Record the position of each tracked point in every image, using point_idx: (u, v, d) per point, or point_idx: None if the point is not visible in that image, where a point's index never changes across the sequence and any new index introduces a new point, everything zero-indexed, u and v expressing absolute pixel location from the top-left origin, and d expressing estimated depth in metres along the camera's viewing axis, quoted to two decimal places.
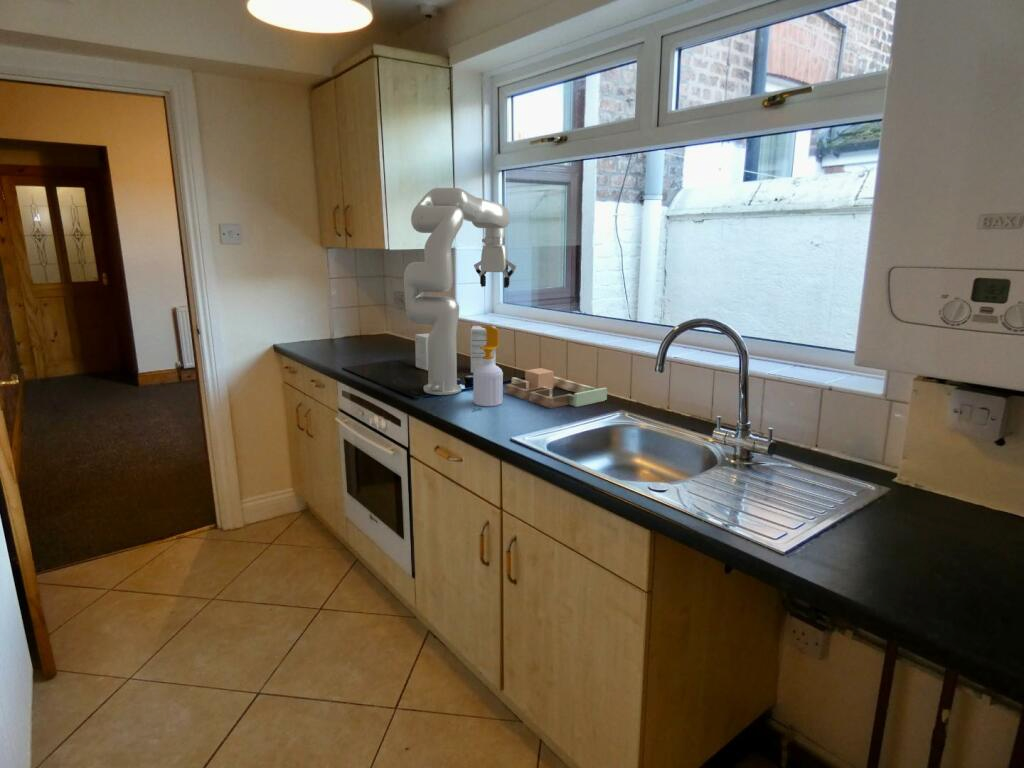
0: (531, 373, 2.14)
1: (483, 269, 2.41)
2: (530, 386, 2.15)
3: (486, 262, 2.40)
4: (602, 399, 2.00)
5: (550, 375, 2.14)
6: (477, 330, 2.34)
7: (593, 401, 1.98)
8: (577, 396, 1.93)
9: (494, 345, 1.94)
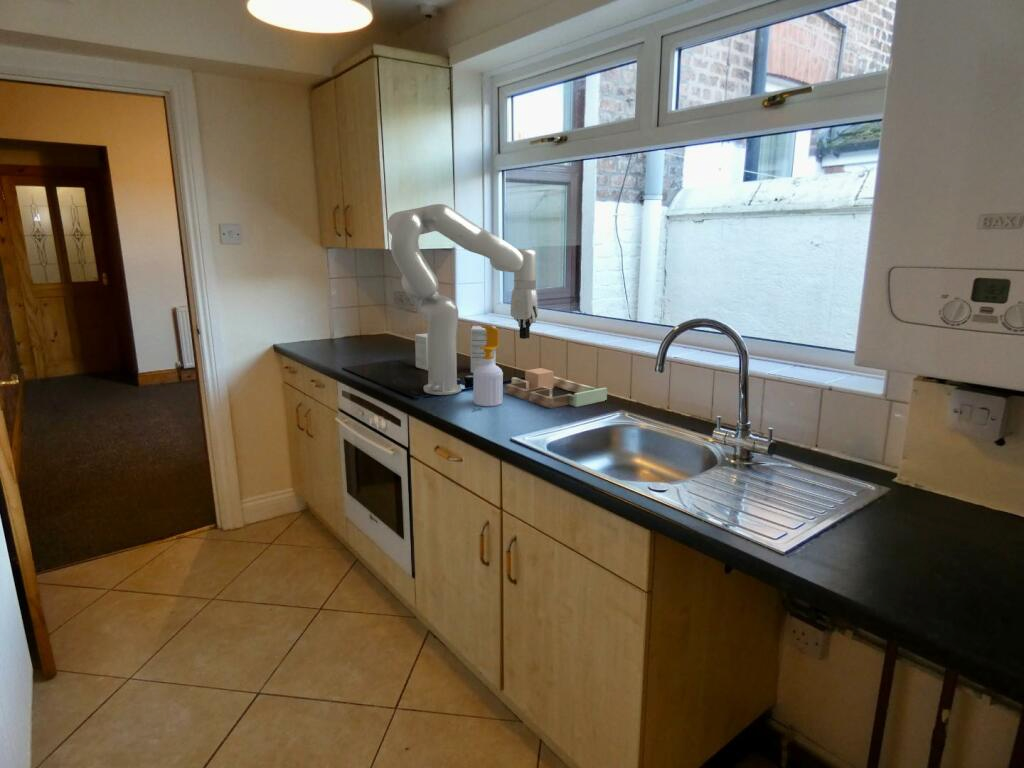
0: (531, 373, 2.14)
1: (512, 315, 2.19)
2: (530, 386, 2.15)
3: (514, 307, 2.18)
4: (602, 399, 2.00)
5: (550, 375, 2.14)
6: (477, 330, 2.34)
7: (593, 401, 1.98)
8: (577, 396, 1.93)
9: (494, 345, 1.94)
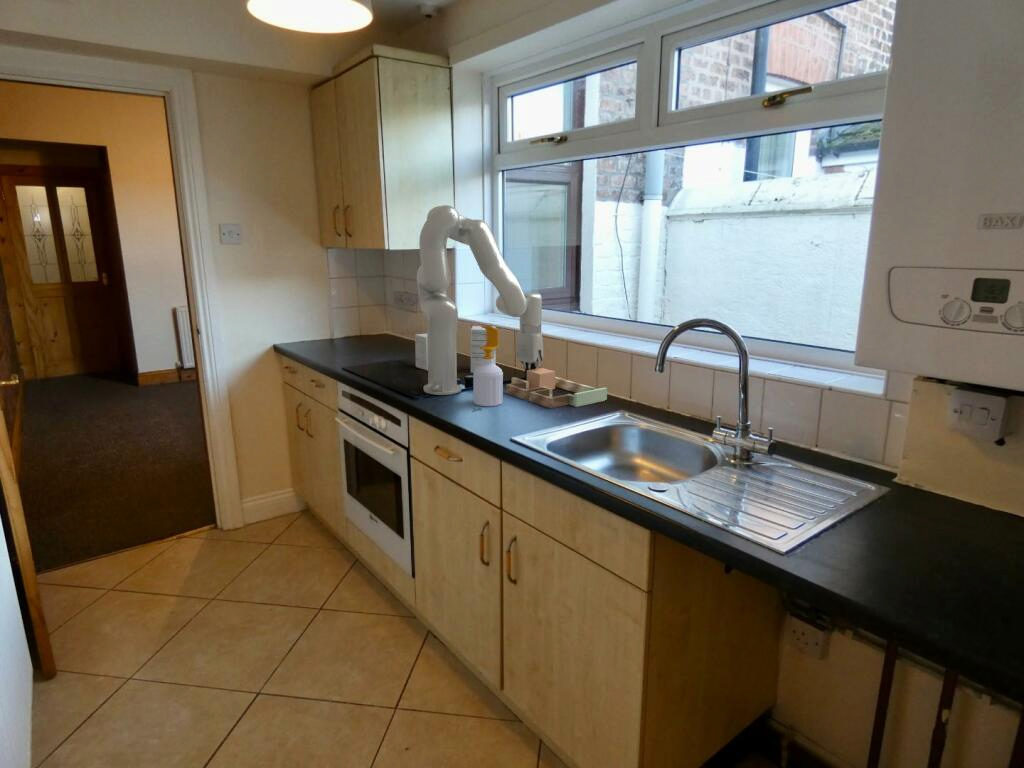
0: (532, 373, 2.13)
1: (517, 357, 2.20)
2: (531, 386, 2.14)
3: (519, 350, 2.18)
4: (602, 399, 2.00)
5: (552, 375, 2.14)
6: (477, 330, 2.34)
7: (593, 401, 1.98)
8: (577, 396, 1.93)
9: (494, 345, 1.94)
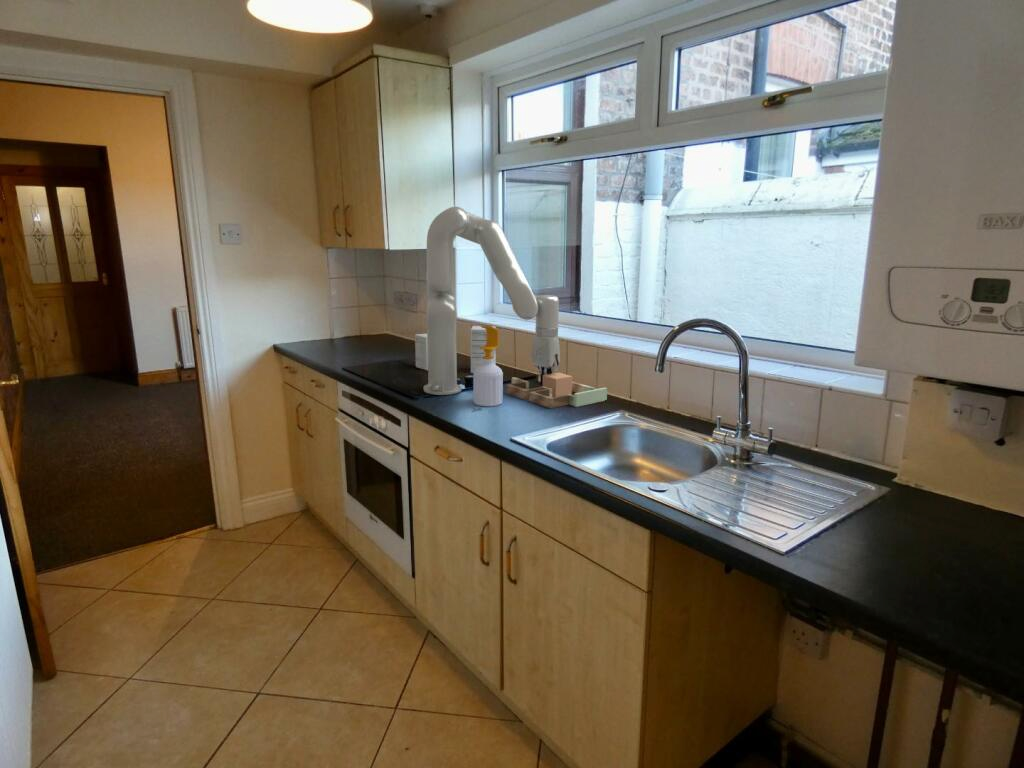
0: (549, 378, 2.06)
1: (532, 361, 2.13)
2: None
3: (535, 354, 2.12)
4: (602, 399, 2.00)
5: (569, 380, 2.07)
6: (477, 330, 2.34)
7: (593, 401, 1.98)
8: (577, 396, 1.93)
9: (494, 345, 1.94)
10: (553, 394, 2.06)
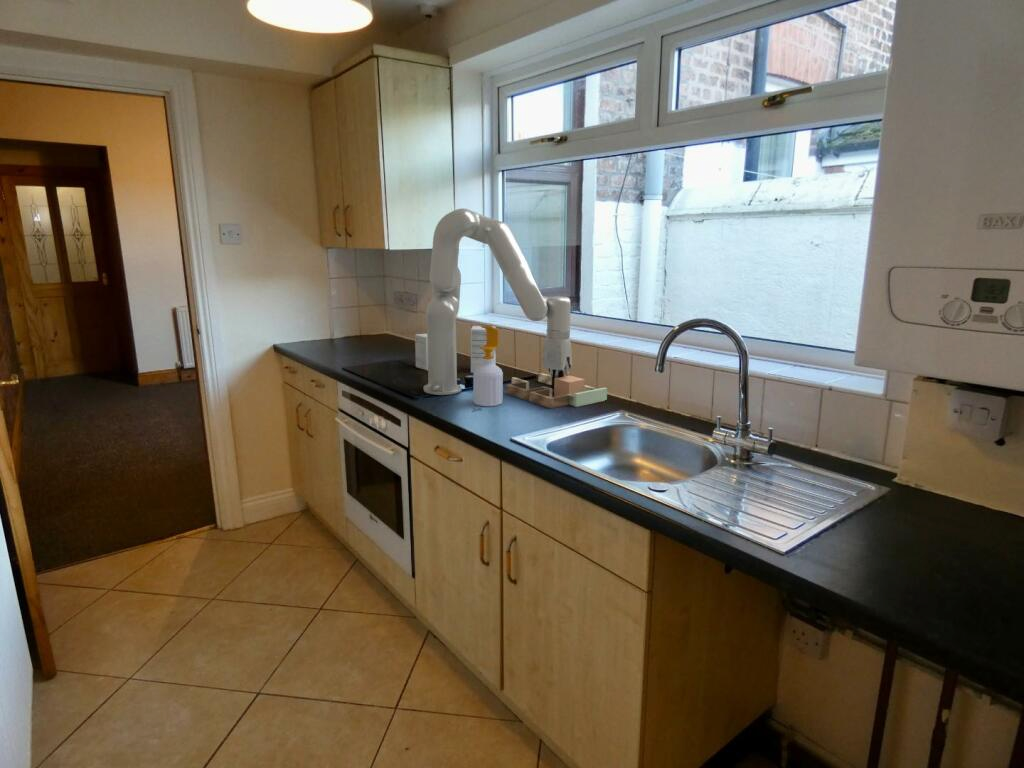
0: (561, 381, 2.02)
1: (543, 364, 2.09)
2: (560, 395, 2.03)
3: (546, 357, 2.07)
4: (602, 399, 2.00)
5: (581, 384, 2.03)
6: (477, 330, 2.34)
7: (593, 401, 1.98)
8: (577, 396, 1.93)
9: (494, 345, 1.94)
10: None
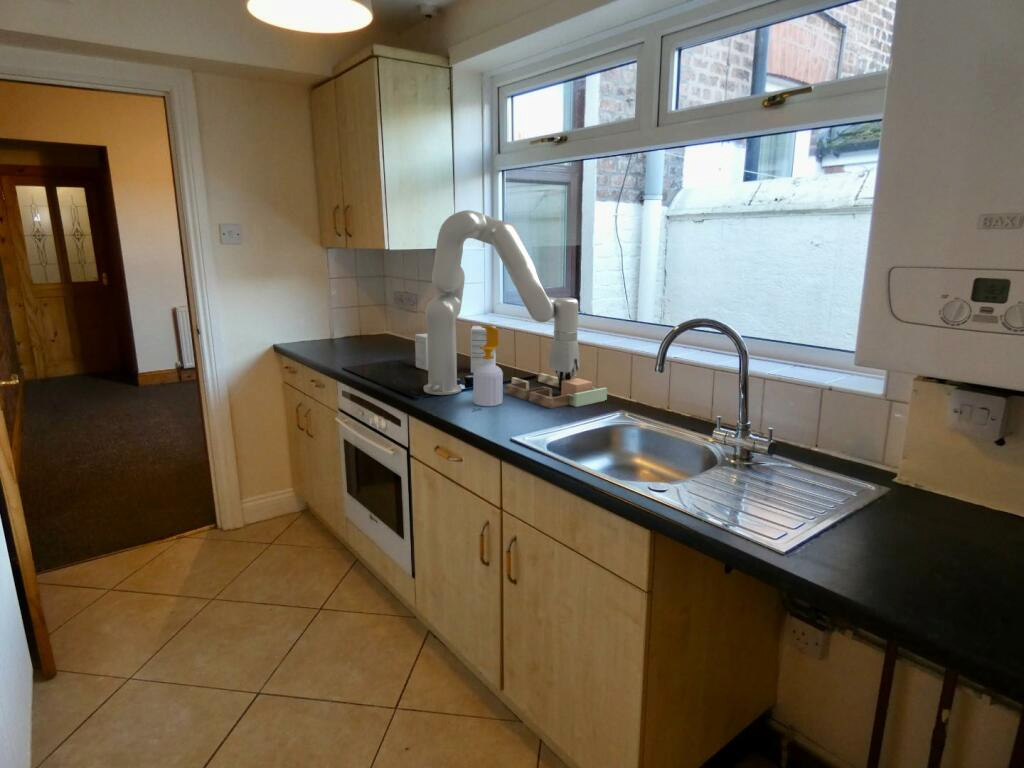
0: (568, 384, 1.99)
1: (551, 366, 2.06)
2: None
3: (553, 359, 2.05)
4: (602, 399, 2.00)
5: (589, 386, 2.00)
6: (477, 330, 2.34)
7: (593, 401, 1.98)
8: (577, 396, 1.93)
9: (494, 345, 1.94)
10: None
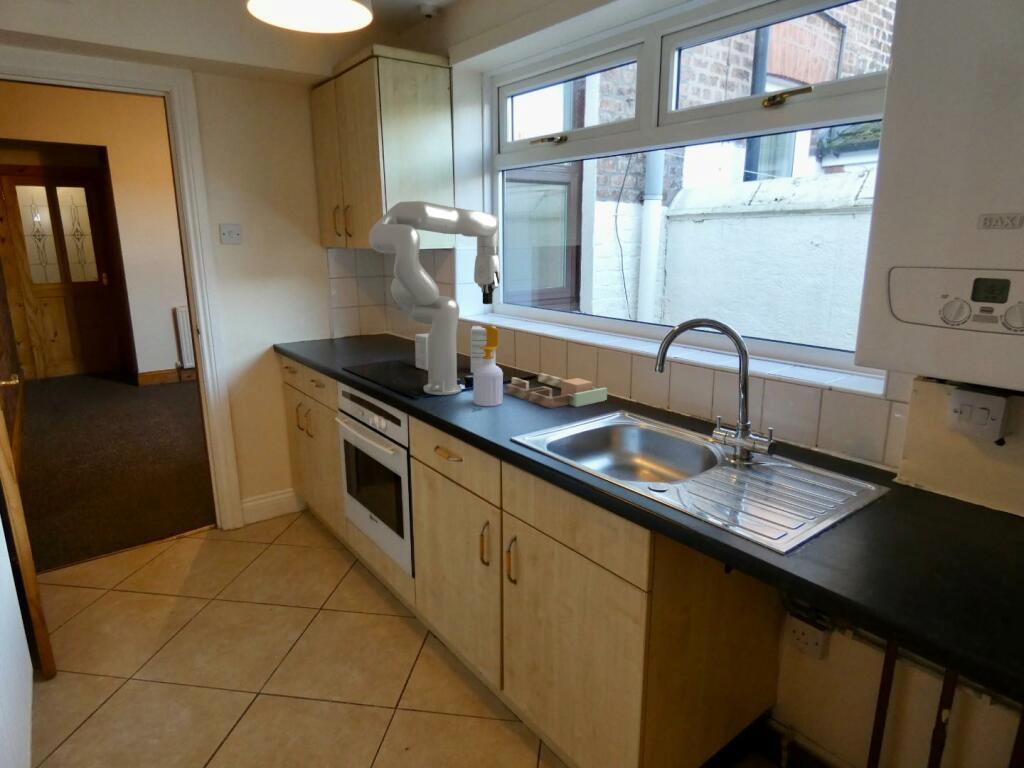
0: (568, 384, 1.99)
1: (475, 280, 2.23)
2: None
3: (477, 273, 2.22)
4: (602, 399, 2.00)
5: (589, 386, 2.00)
6: (477, 330, 2.34)
7: (593, 401, 1.98)
8: (577, 396, 1.93)
9: (494, 345, 1.94)
10: None
